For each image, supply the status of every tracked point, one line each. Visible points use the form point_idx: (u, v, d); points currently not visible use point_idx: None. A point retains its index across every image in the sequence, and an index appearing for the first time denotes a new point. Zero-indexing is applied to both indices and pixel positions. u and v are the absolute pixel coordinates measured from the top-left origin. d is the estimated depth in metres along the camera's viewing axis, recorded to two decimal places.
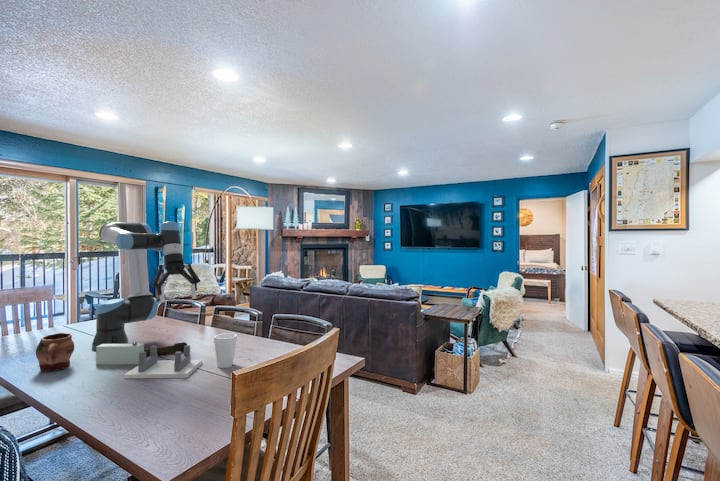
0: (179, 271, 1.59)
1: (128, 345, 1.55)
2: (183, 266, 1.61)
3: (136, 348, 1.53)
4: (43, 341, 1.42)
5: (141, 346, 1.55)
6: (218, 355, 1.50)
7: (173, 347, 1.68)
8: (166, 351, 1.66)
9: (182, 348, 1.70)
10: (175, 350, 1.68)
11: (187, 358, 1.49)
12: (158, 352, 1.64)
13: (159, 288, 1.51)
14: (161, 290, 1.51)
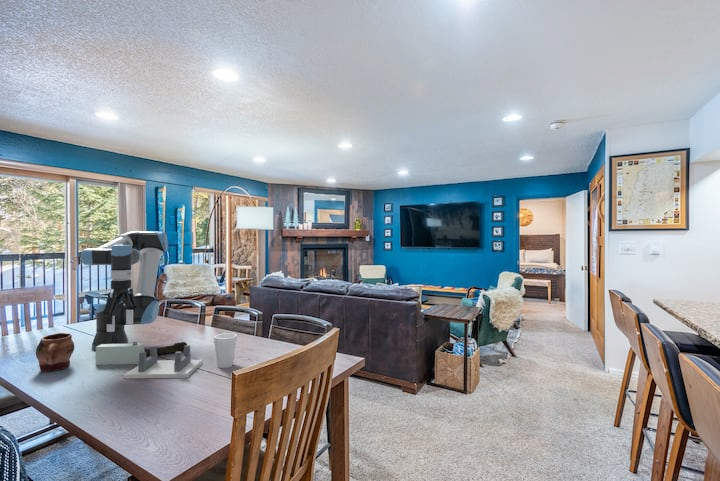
0: (125, 297, 1.56)
1: (128, 345, 1.55)
2: (128, 292, 1.58)
3: (136, 348, 1.54)
4: (43, 341, 1.42)
5: (142, 346, 1.56)
6: (218, 355, 1.50)
7: (173, 347, 1.68)
8: (166, 351, 1.67)
9: (182, 348, 1.71)
10: (175, 350, 1.69)
11: (187, 358, 1.49)
12: (158, 352, 1.64)
13: (111, 317, 1.47)
14: (112, 319, 1.47)
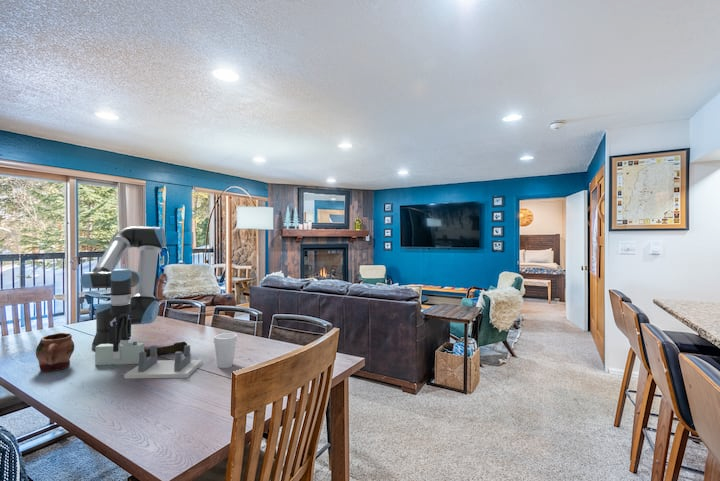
0: (125, 322, 1.56)
1: (128, 344, 1.55)
2: (127, 316, 1.58)
3: (136, 348, 1.54)
4: (43, 341, 1.42)
5: (142, 345, 1.56)
6: (218, 355, 1.50)
7: (173, 347, 1.69)
8: (166, 351, 1.67)
9: (182, 347, 1.71)
10: (175, 349, 1.69)
11: (187, 358, 1.49)
12: (158, 352, 1.65)
13: (117, 345, 1.51)
14: (118, 347, 1.52)
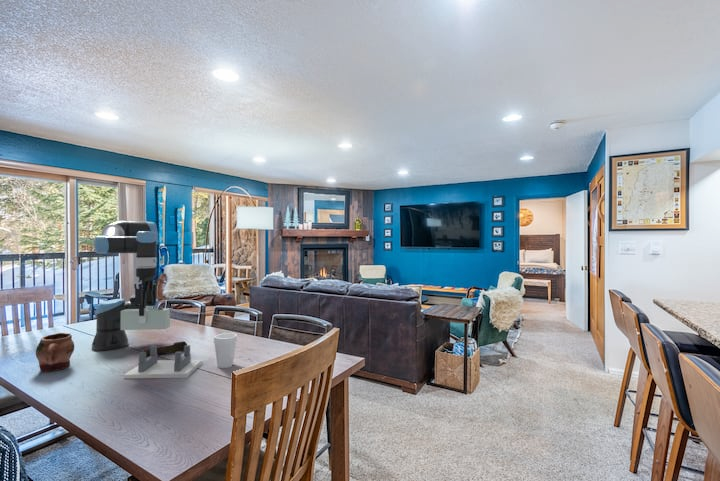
0: (150, 286, 1.51)
1: (154, 309, 1.49)
2: (152, 281, 1.53)
3: (162, 312, 1.48)
4: (43, 341, 1.42)
5: (167, 310, 1.50)
6: (218, 355, 1.50)
7: (173, 346, 1.69)
8: (166, 350, 1.67)
9: (182, 347, 1.72)
10: (175, 349, 1.69)
11: (187, 358, 1.49)
12: (158, 352, 1.65)
13: (143, 309, 1.46)
14: (144, 311, 1.47)
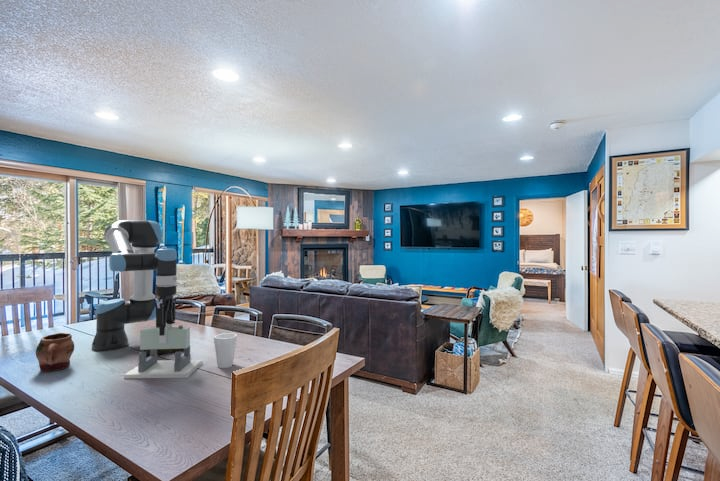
0: (170, 304, 1.48)
1: (174, 328, 1.46)
2: (172, 298, 1.50)
3: (183, 331, 1.45)
4: (43, 341, 1.42)
5: (188, 329, 1.47)
6: (218, 355, 1.50)
7: None
8: (166, 350, 1.67)
9: None
10: (175, 349, 1.70)
11: (187, 358, 1.49)
12: (158, 352, 1.65)
13: (163, 328, 1.43)
14: (165, 331, 1.44)
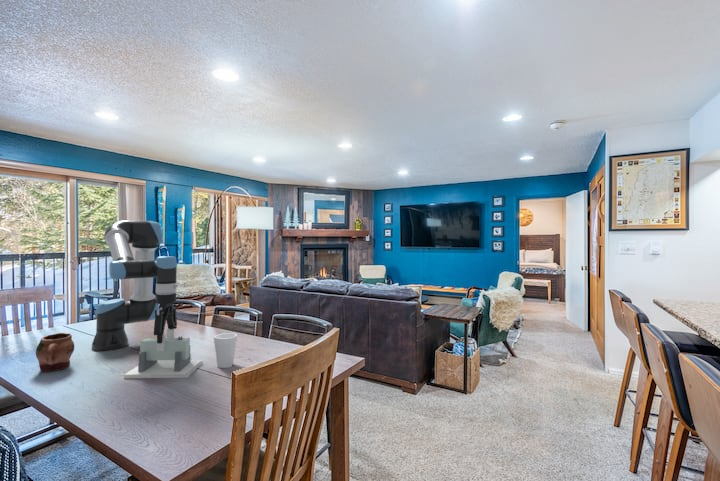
0: (170, 312, 1.48)
1: (173, 339, 1.46)
2: None
3: (182, 343, 1.45)
4: (43, 341, 1.42)
5: (187, 340, 1.47)
6: (218, 355, 1.50)
7: None
8: None
9: None
10: None
11: (187, 358, 1.49)
12: None
13: (161, 336, 1.41)
14: (162, 338, 1.42)
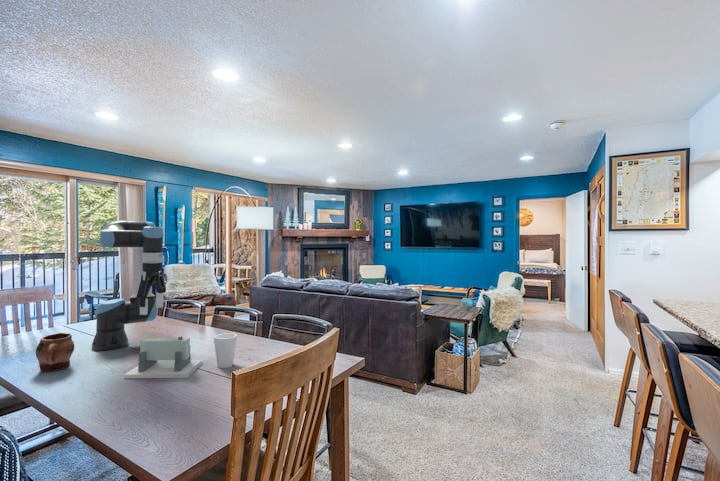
0: (156, 280, 1.53)
1: (173, 339, 1.46)
2: (158, 275, 1.55)
3: (182, 343, 1.45)
4: (43, 341, 1.42)
5: (187, 340, 1.47)
6: (218, 355, 1.50)
7: None
8: None
9: None
10: None
11: (187, 358, 1.49)
12: None
13: (144, 300, 1.44)
14: (145, 302, 1.45)
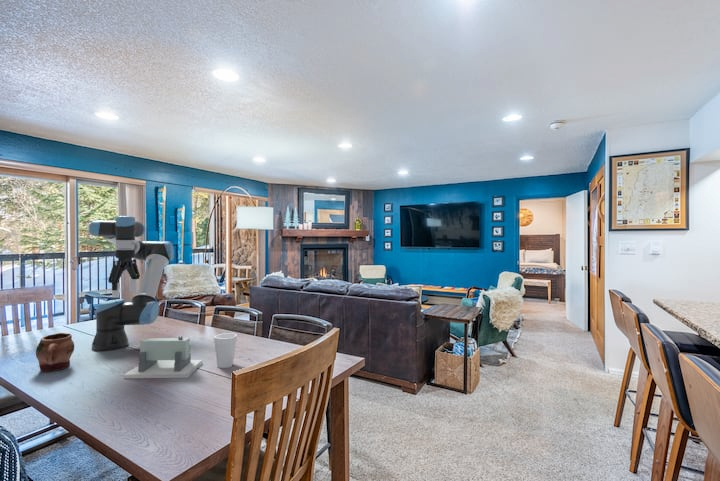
0: (129, 267, 1.64)
1: (173, 339, 1.46)
2: (131, 261, 1.66)
3: (182, 343, 1.45)
4: (43, 341, 1.42)
5: (187, 340, 1.47)
6: (218, 355, 1.50)
7: None
8: None
9: None
10: None
11: (187, 358, 1.49)
12: None
13: (116, 284, 1.55)
14: (117, 286, 1.55)
